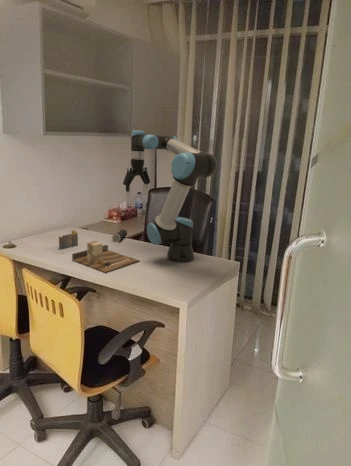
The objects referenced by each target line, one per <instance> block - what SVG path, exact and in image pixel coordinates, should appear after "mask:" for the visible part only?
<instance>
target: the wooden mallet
mask: <svg viewBox="0 0 351 466" xmlns="http://www.w3.org/2000/svg"><path fill="white" fill-rule="evenodd" d="M102 246H103V242H99V241H95V240H93V241H91V242H90V241H89V242H87V243H86V250H87V261H88V262H91V263H94V264H97V263H99V264H101V265H104V266H110V262H106V261H103V260H102Z"/></svg>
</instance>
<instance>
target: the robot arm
mask: <svg viewBox="0 0 351 466" xmlns="http://www.w3.org/2000/svg"><path fill="white" fill-rule="evenodd" d="M145 150H164V151H167V152H169V153H171V154H173V155H175V156H174V158H173V159H172V161H171V162H172V163H171V164H170V166H171V169H170V170H171V174H172V179H173V181H172V184H171V186H170V190H169V191H168V194H167V197H166V198H165V202H164V203H163V206H162V209H161V212H160V214H159V215H157V216H156V217H154V218H155V219H154V221H153V222H150V223H148V224H147V225H146V233H147V237H148V240H149V242H150V243H151V244H153V245H163V244H170V246H169V249H168V251H167V257H166V258H167V260H169V261H172V262H174V263H175V262H176V263H188V262H192V261H195V260H194V259H195V254H194V249H193V233H194V232H193V231H194V229H193V228H194V222H193V220H192V219H190V218H187V217H181V216H179V214H180V211H181V210H182V208H183V205H184V203H185V200H186V198H187V196H188V194H189V191H190V189H191V187H194V186H195V185H196V183H197V182H198V180H199V179H207V178H210V177H211V176H213V175H214V174H215V172H216V170H217V168H218V161H217V158H216V157H215V155H213V154H212V153H209V152H208V151H206V150H201V151H200V150H199V149H197V148H194V147H192V146H190V145H188V144H187V143H184V142H182V141H180V140H178V138H177V137H176V136H174V135H162V134H146V132H145V131H144V130H136V129H135V130H133V129H132V131H131V136H130V158H131V159H130V165H131V166H130V167H127V170H126V174H125V177H124V179H123V182H122V185H124V186H125V192H126V194H125V195H126V198H129V199H130V198H131V197H132V185H131V183H132V182H133V180H134V178H136V176H139V177H140V179H141V180H142V182H143V183H142V196H147V195H148V185H149V184H150V183H151V179H150V177H149V173H148V167H146V166H145Z"/></svg>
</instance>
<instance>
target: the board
mask: <svg viewBox="0 0 351 466" xmlns="http://www.w3.org/2000/svg"><path fill="white" fill-rule="evenodd" d="M71 259H72V262H74V263H77V264H80V265H83V266H85V267H88V268H91V269H93V270H95V271H99V272H101V273H104V274H108V272H109V273H111V272H113V271H114V272H115V271H117V270H119V269H123V268H125V267H128V266H131V265H135V264H137V263H140V262H141V261H140V259H136V258H133V257H131V256H129V255H124V254H121V253H118V252H115V251H111V250H109V245H108V244H105V245H104V244H103V245H102V260H103V261H106V262H110V266H104V265H101V264H99V263H97V264H94V263H91V262H88V261H87V249H85V250H81V251H78V252H74V253H72V254H71Z"/></svg>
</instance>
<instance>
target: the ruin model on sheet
mask: <svg viewBox="0 0 351 466" xmlns="http://www.w3.org/2000/svg"><path fill="white" fill-rule="evenodd" d="M78 236H79V235H78V232H77V231H76V230H75V229H73V230H71V233H69V234H66V235H65V234H64V235H62V236H58V245H59V247H58V248H59V250H65V249H70V248H74V247H78V246H79V240H78V239H79V237H78Z"/></svg>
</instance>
